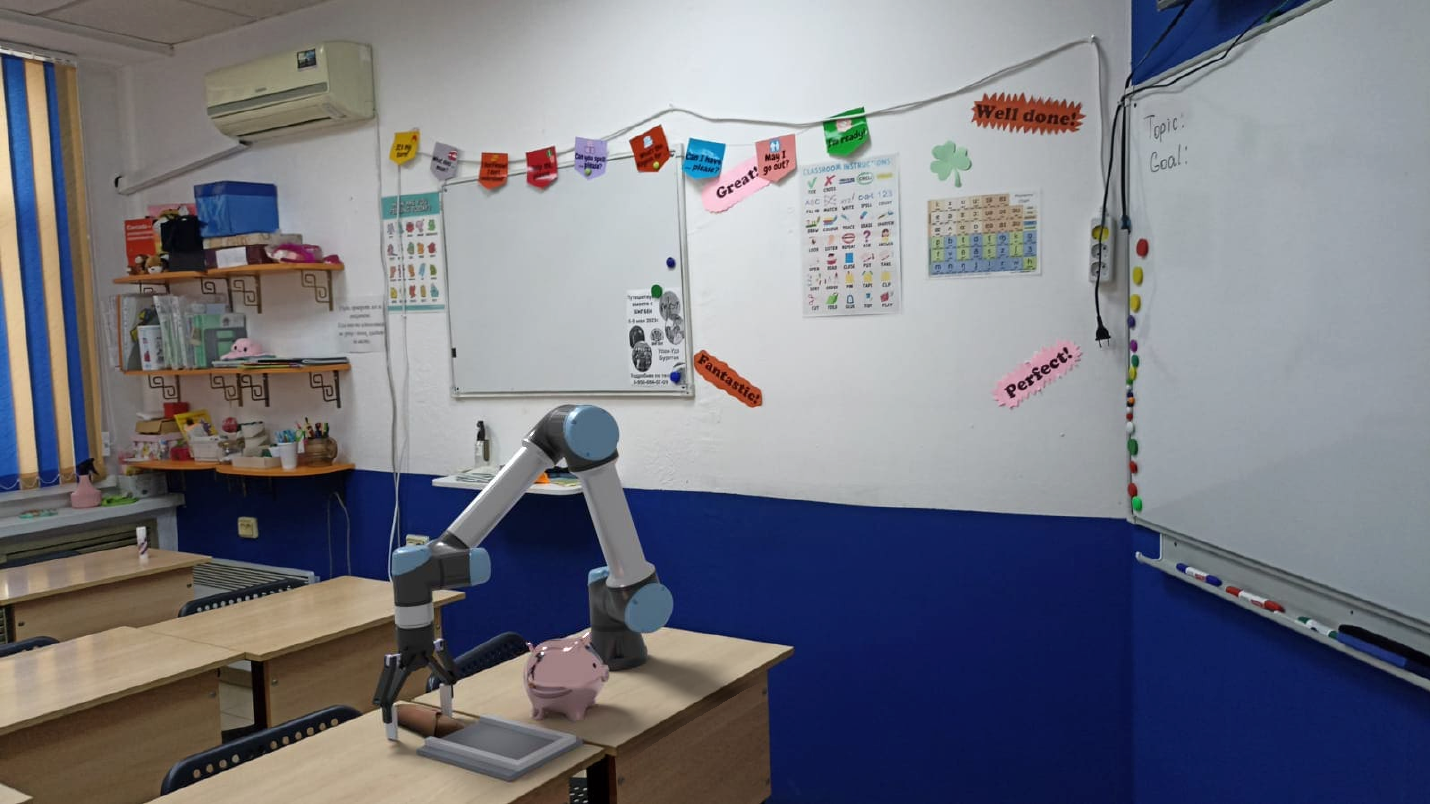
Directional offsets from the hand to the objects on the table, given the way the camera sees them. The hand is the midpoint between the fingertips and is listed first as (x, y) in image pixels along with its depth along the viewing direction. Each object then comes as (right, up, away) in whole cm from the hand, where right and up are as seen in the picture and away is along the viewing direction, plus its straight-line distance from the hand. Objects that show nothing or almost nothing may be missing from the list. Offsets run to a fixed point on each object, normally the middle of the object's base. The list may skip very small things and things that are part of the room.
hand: (420, 726), depth 199 cm
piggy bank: (+29, +1, +5) cm, 30 cm away
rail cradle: (+19, 0, -13) cm, 23 cm away
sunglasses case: (+1, -1, +1) cm, 2 cm away
